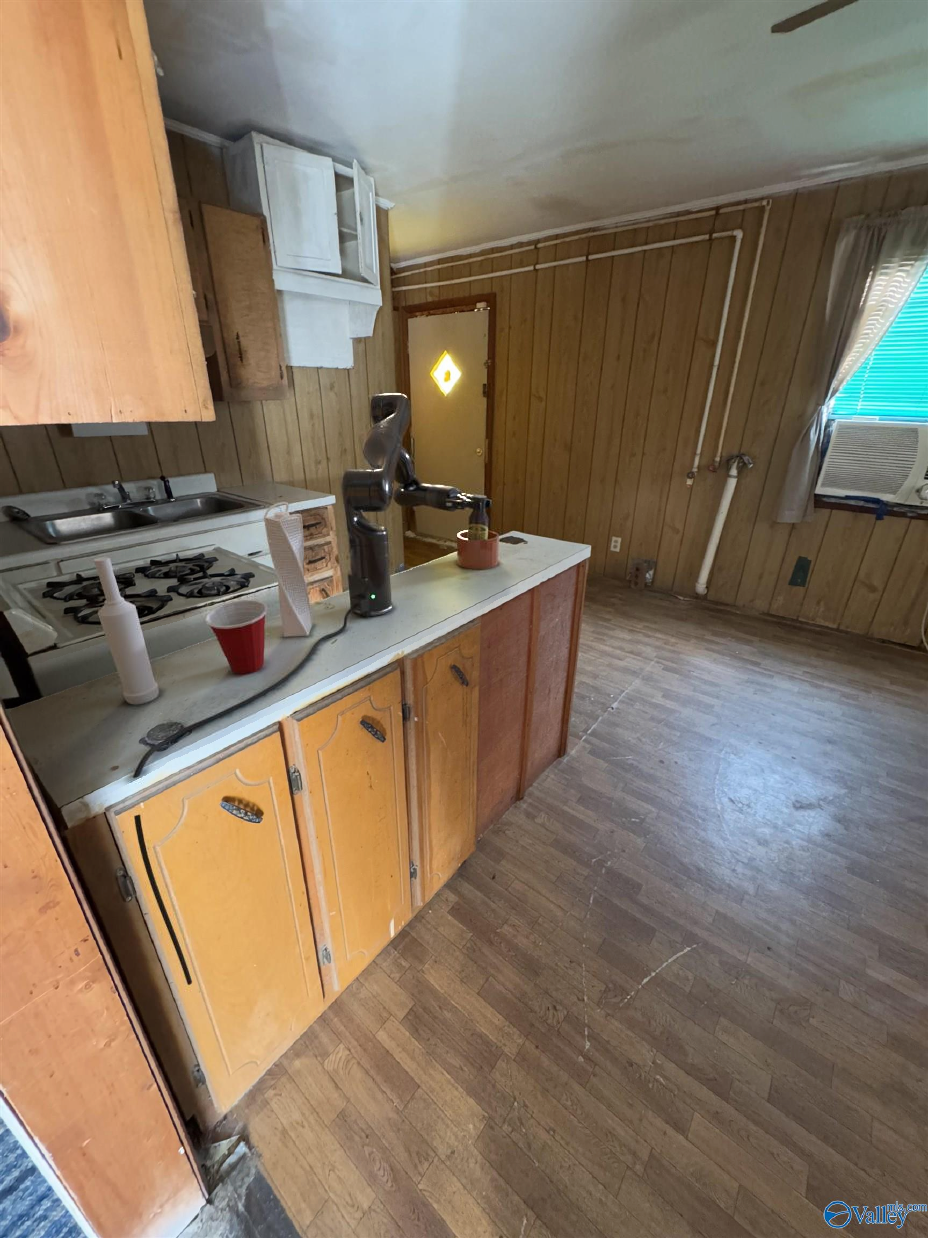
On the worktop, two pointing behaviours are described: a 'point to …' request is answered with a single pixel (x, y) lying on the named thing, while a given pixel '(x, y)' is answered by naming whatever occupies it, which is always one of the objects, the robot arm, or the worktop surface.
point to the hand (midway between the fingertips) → (485, 504)
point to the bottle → (125, 639)
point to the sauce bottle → (478, 521)
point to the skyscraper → (289, 570)
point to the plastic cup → (240, 633)
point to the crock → (477, 551)
